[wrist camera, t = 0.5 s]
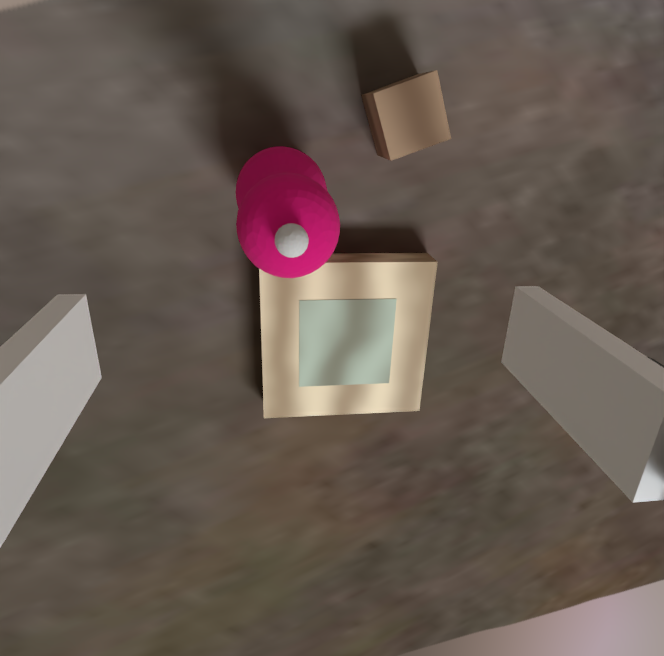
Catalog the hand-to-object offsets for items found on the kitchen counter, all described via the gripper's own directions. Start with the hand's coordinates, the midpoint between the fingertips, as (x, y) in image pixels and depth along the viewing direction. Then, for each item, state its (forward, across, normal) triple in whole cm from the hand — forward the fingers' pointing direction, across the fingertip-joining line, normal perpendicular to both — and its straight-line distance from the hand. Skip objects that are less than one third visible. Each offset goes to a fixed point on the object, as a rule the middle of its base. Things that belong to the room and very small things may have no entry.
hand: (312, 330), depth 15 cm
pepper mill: (+31, 0, 0) cm, 31 cm away
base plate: (+31, +6, -14) cm, 34 cm away
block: (+31, +10, +6) cm, 33 cm away
